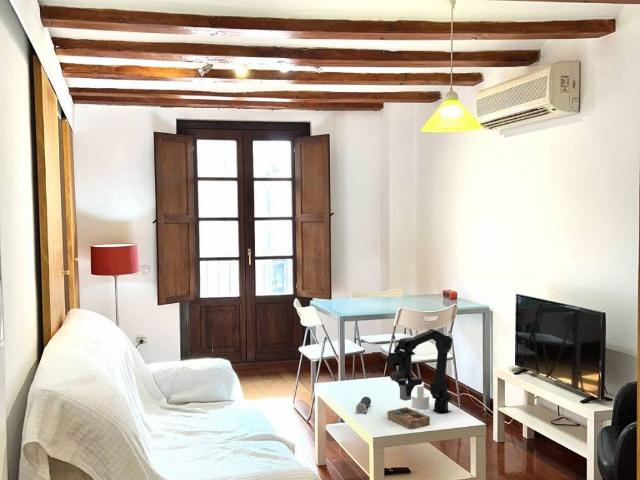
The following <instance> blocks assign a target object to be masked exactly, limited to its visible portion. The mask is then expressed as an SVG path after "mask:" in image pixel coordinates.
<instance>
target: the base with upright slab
mask: <svg viewBox="0 0 640 480" xmlns="http://www.w3.org/2000/svg"><path fill="white" fill-rule="evenodd" d="M424 386H425V384H424V381H422V384H421V385H416V387H417V388H416V393H411V407H412V408H413V409H414V410H415V409H417V410H427V409H429V408H430V395H429V394H427V393H425V392H424V391H425V390H424V389H425V387H424Z"/></svg>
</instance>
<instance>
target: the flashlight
mask: <svg viewBox="0 0 640 480" xmlns="http://www.w3.org/2000/svg"><path fill="white" fill-rule="evenodd" d="M371 400H372V399H371V398H370V397H368V396H363V397H362V398H361V399H360V402H358V403H357V405H356V406H355V411H356V413H357V414H359V415H363V414H365V413H366V411H367V410H368V407H370V405H371V404H372V401H371Z"/></svg>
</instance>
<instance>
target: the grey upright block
mask: <svg viewBox="0 0 640 480" xmlns="http://www.w3.org/2000/svg"><path fill="white" fill-rule="evenodd" d="M399 400H402V401H405V402H406V401H410V400H411V401H412V393H411V394H410V396H409V397H407V387H406V385H405V384H402V385H400V387H399Z"/></svg>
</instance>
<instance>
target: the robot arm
mask: <svg viewBox="0 0 640 480" xmlns="http://www.w3.org/2000/svg"><path fill="white" fill-rule="evenodd" d="M430 340H432V341H434V343H435V348H436V350H437V351H436V352H437V356H436V357H437V358H436V366H435V377H434V380H433V381H432V382H430V383H429V385H430V386H429V392H430V394H431V396H432V399H434V409H432V411H434V412H436V413H438V414H446V413H449V412H451V410H449V402H450V401H451V399H452V396H451V395H450V394H449V392H448V386H447V384H446V380H445V379H446V370H447V363H448V362H447V360H448V353H449V352H450V351H451V348H452V345H453V339H452V337H451V336H449V335H446V334H444V333H442V332H440V331H439V330H437V329H435V328H430V329H428V330H425V331H424V332H422V333H420V334H417V335H414V336H412V337H410V336H409V337H403V338H400V339H399V340H398V342H397V345H396V347H395V348H394V350H393V352H388V355H387V356H386V358H385V364H386V366H387V367H389V368H393V367H397V369H396V370H394V371H391V372H390V373H389V379H390V380H391V381H393V382H396V383H397V384H398V387H399V388H400V385H402V384H405V385H406V387H407V397H409V396H410V394H411V395H412V392H413V390H414V388H415V387H417V385H421V384H422V382H423V380H422V379H421V378H419V377H414V374H413V373H412V370H413V369H414V366H413V364H412V360H413V359H412V357H413V356H415V355H416V353H415V352H414V350H415V349H417V347H418V346H420V345H421V344H424V343H426V342H429V341H430Z"/></svg>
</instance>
